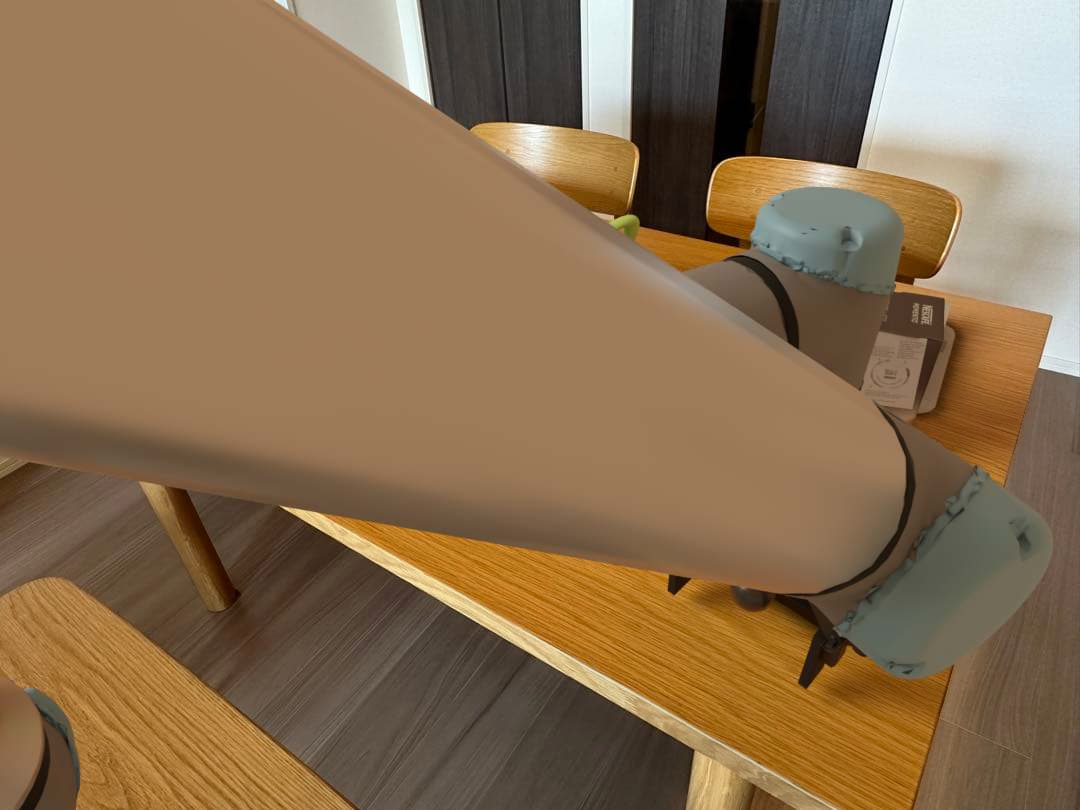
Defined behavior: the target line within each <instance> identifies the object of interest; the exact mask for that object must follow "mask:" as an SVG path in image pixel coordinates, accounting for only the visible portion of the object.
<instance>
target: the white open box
mask: <svg viewBox="0 0 1080 810" xmlns="http://www.w3.org/2000/svg"><path fill="white" fill-rule="evenodd" d="M952 303H953V302H952V301H951V302H950V301H946V300H945V310H944V342H943V344H942V346H941V349H940V352H939V355H938V357H937V360H936V363H935V366H934V369H933V371H932V374H931V377H930V380H929V382H928V385H927V388H926V391H925V394H924V396H923V399H922V401H921V404H920V407H919V410H918V412H917V415H918V414H919V415H920V414H925V413H926V414H927V413H931V412H932V411H933V410H934V408H936V406H937V402H938V399H939V395H940V392H941V389H942V384H943V381H944V377H945V374H946V370H947V366H948V363H949V360H950V357H951V352H952V348H953V345H954V341H955V338H956V332H955V330H954V329H953V328H951V327H950V326H949V325H947V320H948V317H949V314H950V310H951V306H952Z"/></svg>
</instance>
